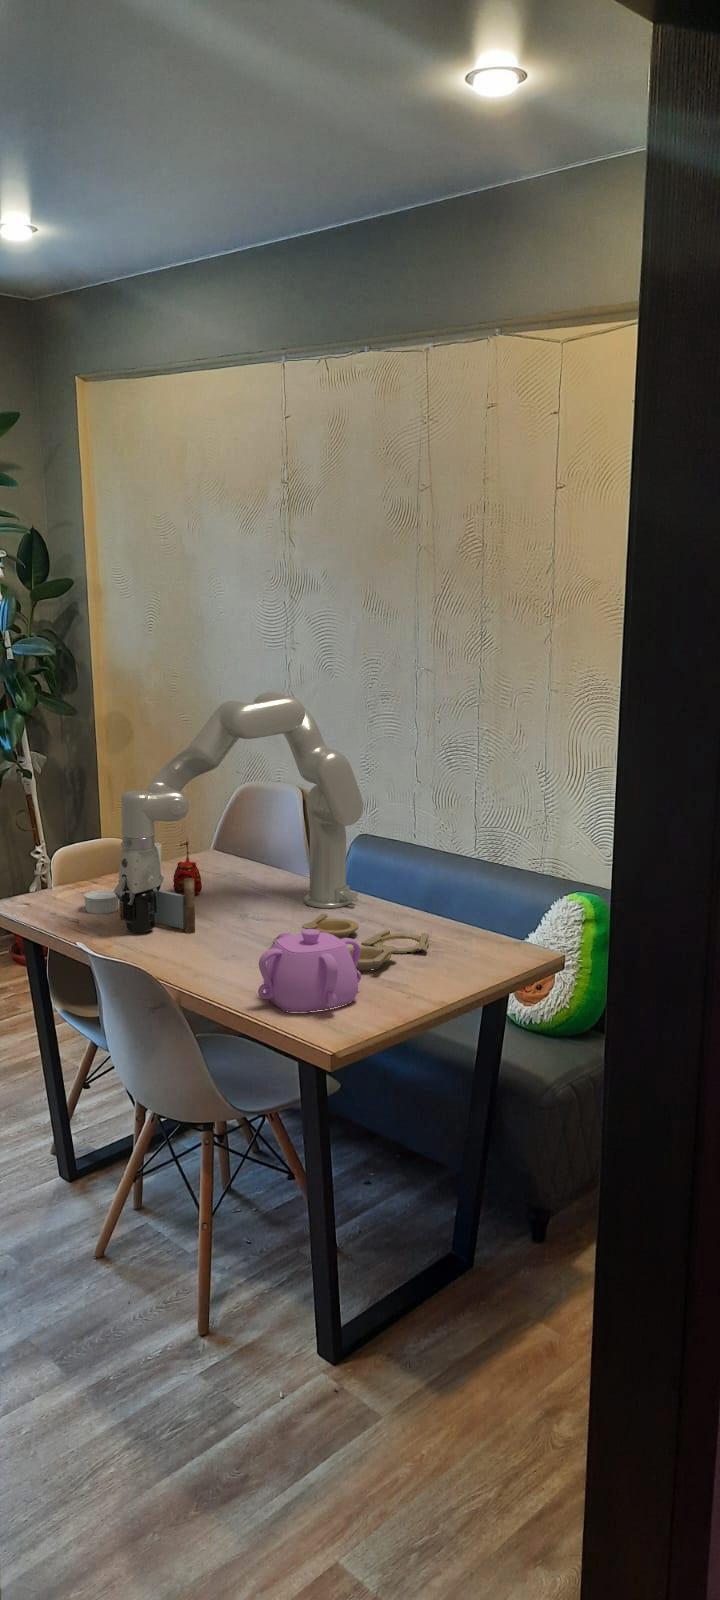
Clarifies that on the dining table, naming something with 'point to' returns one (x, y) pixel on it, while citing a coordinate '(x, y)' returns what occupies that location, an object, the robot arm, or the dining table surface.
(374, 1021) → the dining table surface
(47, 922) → the dining table surface
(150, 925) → the supplement bottle
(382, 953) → the tableware set
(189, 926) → the door frame
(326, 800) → the robot arm
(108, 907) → the ramekin
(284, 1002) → the purple lidded pot
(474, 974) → the dining table surface
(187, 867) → the red clay folk toy
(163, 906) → the door
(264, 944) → the dining table surface
